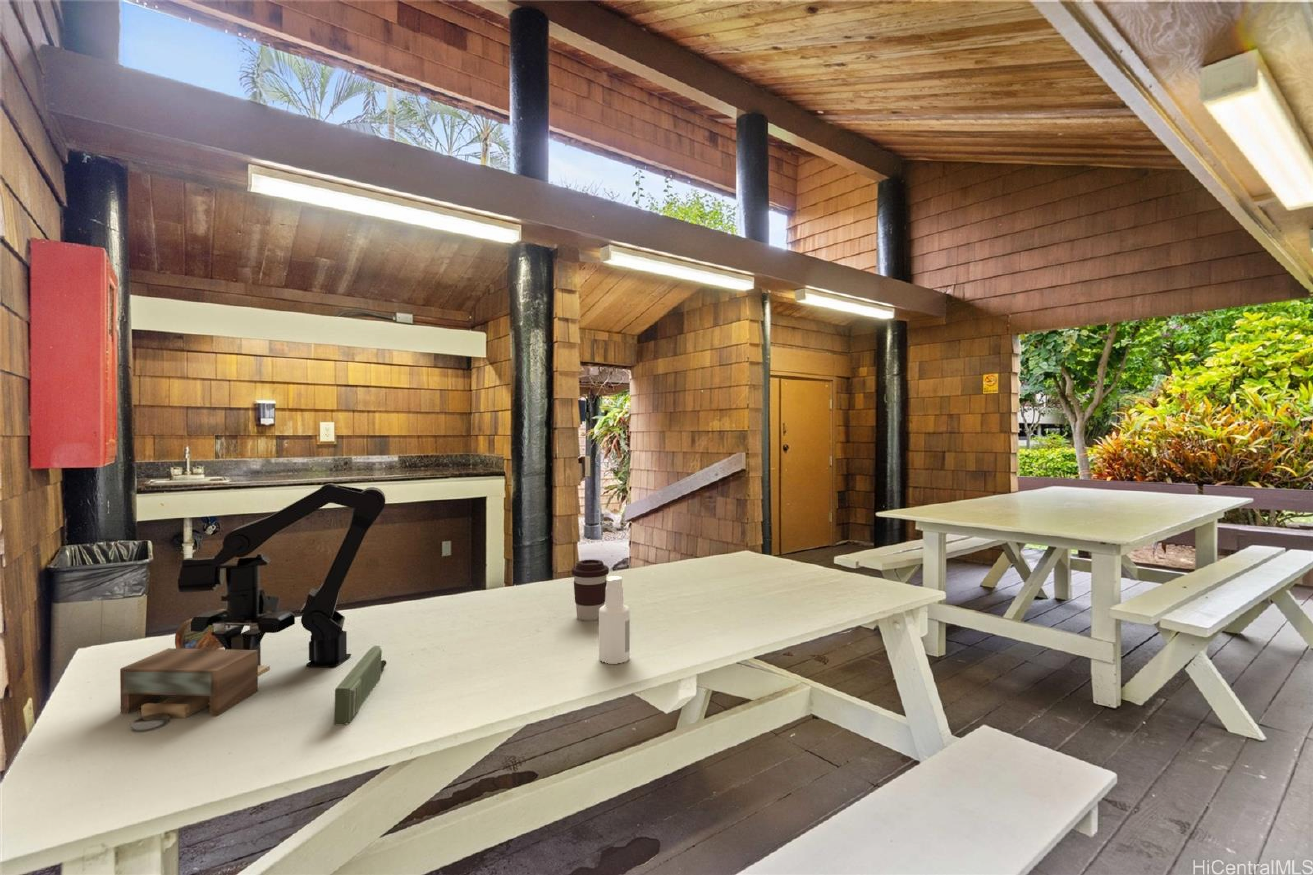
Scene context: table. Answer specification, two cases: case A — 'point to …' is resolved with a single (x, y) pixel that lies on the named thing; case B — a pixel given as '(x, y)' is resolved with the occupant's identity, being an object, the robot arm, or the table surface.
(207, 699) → the scraper
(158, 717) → the token
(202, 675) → the wooden bridge block
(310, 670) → the table surface
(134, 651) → the table surface
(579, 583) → the coffee cup
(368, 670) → the handheld radio
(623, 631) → the spray bottle
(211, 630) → the tin
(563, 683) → the table surface
